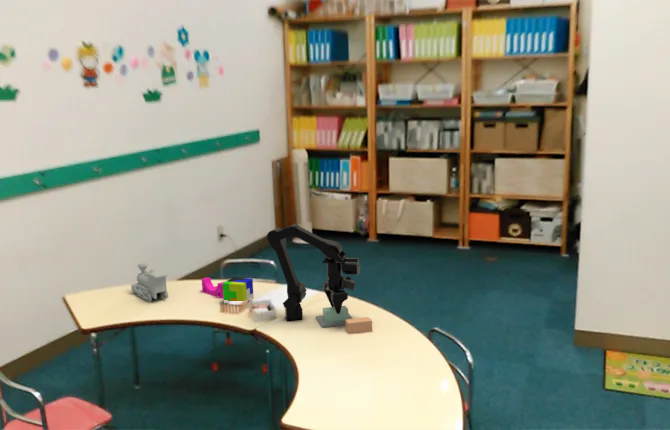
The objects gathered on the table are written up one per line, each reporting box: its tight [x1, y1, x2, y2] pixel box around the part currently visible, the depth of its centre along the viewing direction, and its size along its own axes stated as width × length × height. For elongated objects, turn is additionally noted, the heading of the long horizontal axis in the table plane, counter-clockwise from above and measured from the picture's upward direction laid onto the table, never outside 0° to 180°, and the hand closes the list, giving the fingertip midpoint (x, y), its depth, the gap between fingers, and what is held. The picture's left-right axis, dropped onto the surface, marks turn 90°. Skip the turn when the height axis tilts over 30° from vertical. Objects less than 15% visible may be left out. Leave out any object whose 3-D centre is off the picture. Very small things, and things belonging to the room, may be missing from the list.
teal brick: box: [322, 305, 349, 322], centre depth 258 cm, size 10×5×4 cm, turn 104°
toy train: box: [130, 262, 169, 303], centre depth 297 cm, size 11×28×15 cm, turn 40°
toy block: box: [201, 276, 225, 299], centre depth 298 cm, size 15×6×8 cm, turn 48°
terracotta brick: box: [344, 316, 373, 335], centre depth 247 cm, size 10×5×4 cm, turn 104°
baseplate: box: [315, 312, 354, 329], centre depth 258 cm, size 14×12×1 cm
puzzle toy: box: [222, 276, 255, 301], centre depth 286 cm, size 10×10×10 cm
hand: (335, 310), depth 257 cm, fingers open, 9 cm apart
